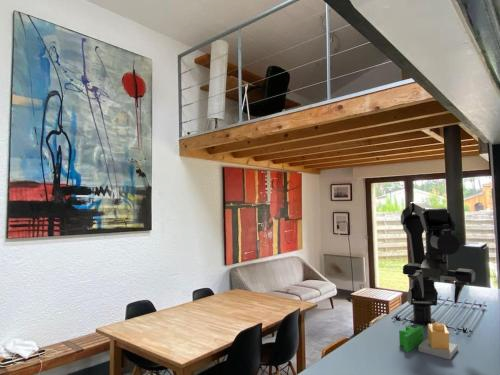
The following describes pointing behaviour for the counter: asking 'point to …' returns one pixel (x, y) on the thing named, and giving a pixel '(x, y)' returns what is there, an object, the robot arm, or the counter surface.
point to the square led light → (438, 335)
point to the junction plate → (438, 350)
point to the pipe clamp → (411, 337)
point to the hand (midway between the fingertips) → (438, 300)
